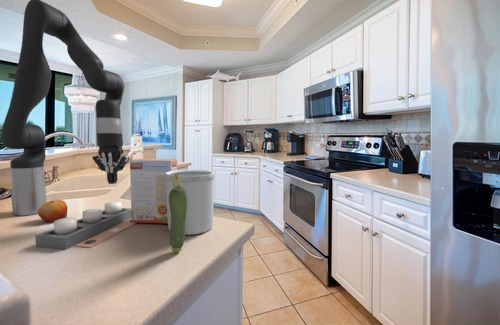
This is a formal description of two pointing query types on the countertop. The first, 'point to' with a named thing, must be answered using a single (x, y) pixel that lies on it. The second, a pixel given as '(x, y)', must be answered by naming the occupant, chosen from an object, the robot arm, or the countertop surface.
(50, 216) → the fruit
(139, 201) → the cracker box
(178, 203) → the vegetable
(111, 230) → the pattern card
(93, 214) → the middle button
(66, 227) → the button
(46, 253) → the countertop surface
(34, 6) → the robot arm
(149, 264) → the countertop surface
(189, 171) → the utensil holder
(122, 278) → the countertop surface
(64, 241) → the button board
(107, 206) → the button
